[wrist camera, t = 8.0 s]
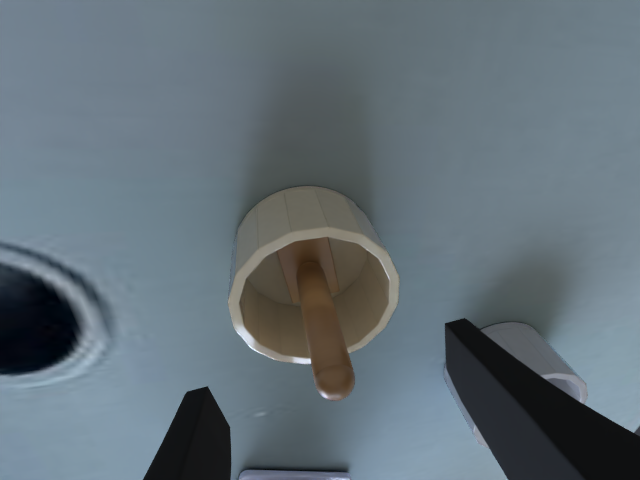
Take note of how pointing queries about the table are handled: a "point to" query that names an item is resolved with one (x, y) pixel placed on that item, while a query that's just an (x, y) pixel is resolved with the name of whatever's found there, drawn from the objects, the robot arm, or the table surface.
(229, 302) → the cream cup
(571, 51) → the table surface
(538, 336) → the grey cup
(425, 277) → the table surface
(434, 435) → the table surface
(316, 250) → the wooden wall peg
